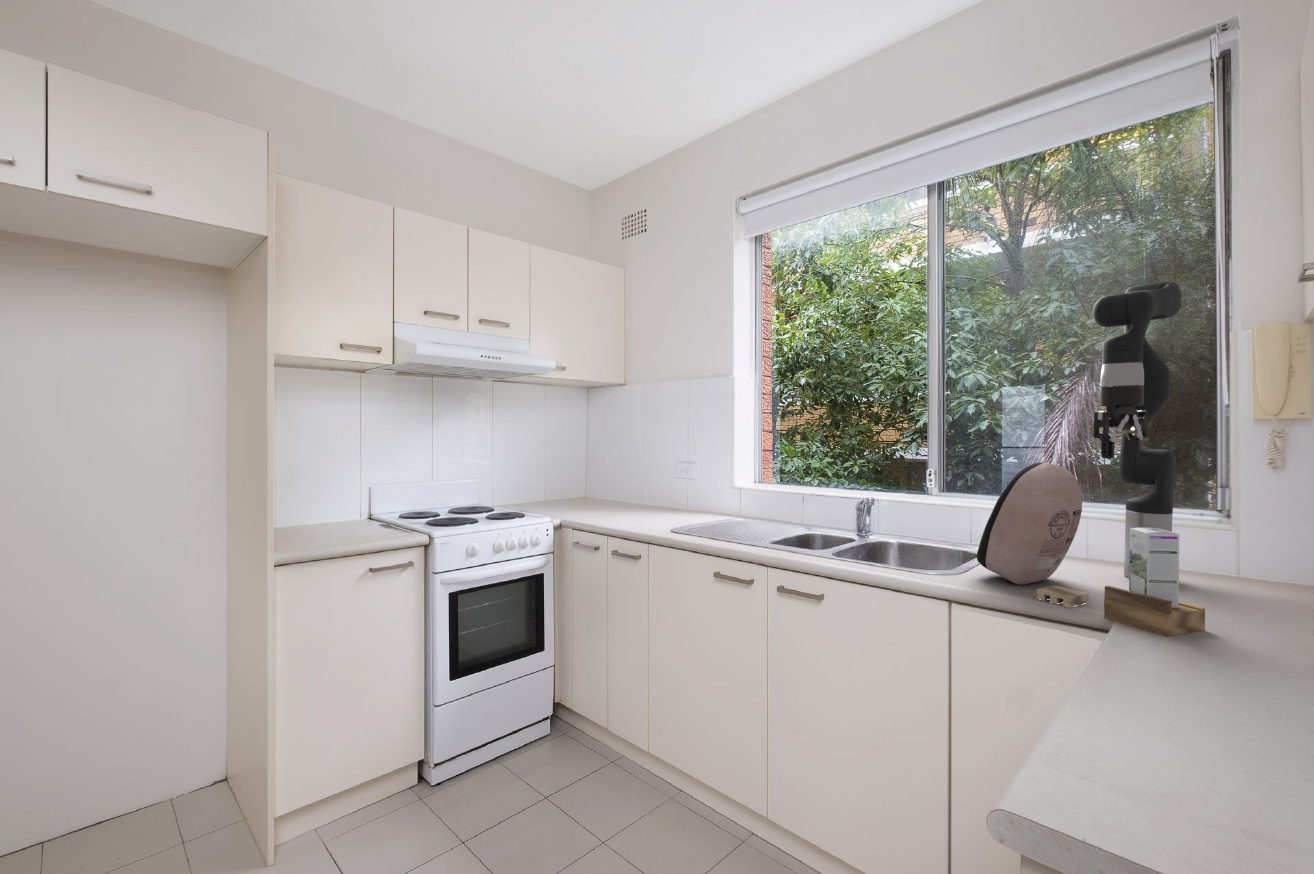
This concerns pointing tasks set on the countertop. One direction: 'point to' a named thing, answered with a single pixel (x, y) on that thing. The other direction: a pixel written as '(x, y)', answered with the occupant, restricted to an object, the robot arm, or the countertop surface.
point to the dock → (1152, 612)
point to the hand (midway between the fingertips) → (1120, 457)
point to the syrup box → (1154, 563)
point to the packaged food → (1032, 524)
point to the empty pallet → (1062, 596)
